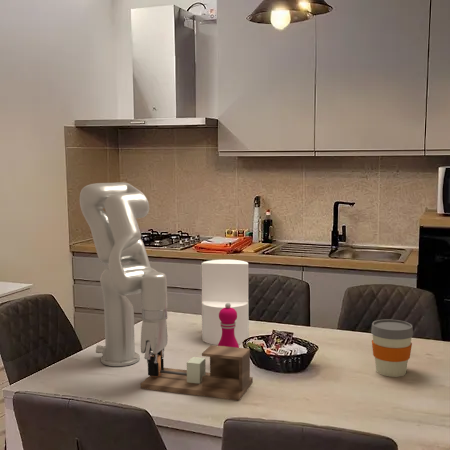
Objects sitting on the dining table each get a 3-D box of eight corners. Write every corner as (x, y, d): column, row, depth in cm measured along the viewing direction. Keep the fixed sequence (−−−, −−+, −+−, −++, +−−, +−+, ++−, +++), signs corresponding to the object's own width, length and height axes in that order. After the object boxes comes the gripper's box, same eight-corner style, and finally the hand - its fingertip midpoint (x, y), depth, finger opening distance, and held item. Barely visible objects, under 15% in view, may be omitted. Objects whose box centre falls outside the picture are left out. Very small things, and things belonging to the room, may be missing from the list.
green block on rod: (147, 377, 180) (147, 358, 179) (154, 371, 185) (154, 353, 184) (199, 383, 175) (199, 363, 174) (205, 377, 180) (205, 358, 179)
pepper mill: (237, 367, 193) (236, 306, 190) (215, 365, 194) (214, 305, 192) (241, 359, 200) (240, 300, 197) (219, 358, 201) (219, 299, 199)
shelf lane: (140, 388, 176) (139, 350, 175) (160, 371, 189) (159, 336, 188) (239, 400, 167) (239, 361, 165) (252, 382, 180) (252, 345, 179)
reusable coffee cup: (414, 367, 191) (416, 321, 189) (408, 381, 180) (410, 332, 178) (374, 362, 196) (375, 317, 195) (366, 375, 185) (367, 327, 183)
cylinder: (206, 330, 233) (205, 259, 230) (250, 332, 231) (250, 259, 227) (198, 344, 216) (197, 267, 213) (246, 346, 214) (245, 268, 210)
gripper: (154, 306, 188) (155, 363, 191) (130, 320, 173) (132, 381, 175) (176, 308, 186) (177, 365, 188) (155, 322, 171) (156, 384, 173)
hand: (155, 372), depth 182 cm, fingers closed on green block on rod, 3 cm apart
